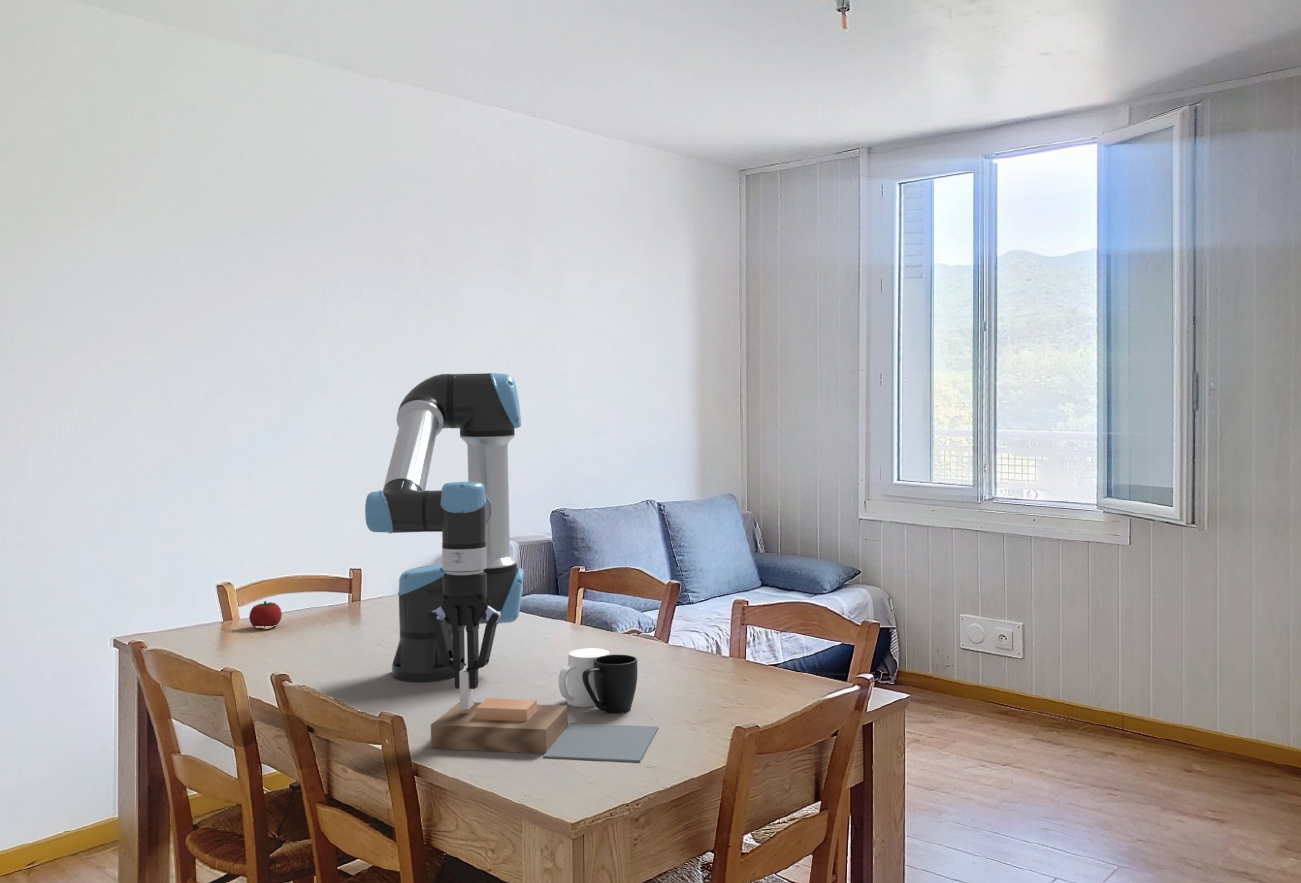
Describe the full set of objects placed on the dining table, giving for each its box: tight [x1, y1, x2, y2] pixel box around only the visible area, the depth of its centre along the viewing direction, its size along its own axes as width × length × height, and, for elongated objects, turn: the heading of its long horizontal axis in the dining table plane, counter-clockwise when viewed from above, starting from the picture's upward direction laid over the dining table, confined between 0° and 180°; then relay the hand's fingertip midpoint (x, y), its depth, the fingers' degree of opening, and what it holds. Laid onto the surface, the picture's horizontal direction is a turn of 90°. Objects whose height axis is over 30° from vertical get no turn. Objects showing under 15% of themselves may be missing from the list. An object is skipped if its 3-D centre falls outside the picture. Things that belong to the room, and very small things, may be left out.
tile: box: [476, 697, 538, 721], centre depth 179 cm, size 9×6×2 cm, turn 80°
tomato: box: [248, 601, 283, 627], centre depth 275 cm, size 8×8×7 cm
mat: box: [542, 722, 660, 763], centre depth 176 cm, size 16×18×1 cm
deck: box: [430, 701, 569, 755], centre depth 179 cm, size 20×14×4 cm
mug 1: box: [558, 647, 610, 708], centre depth 201 cm, size 12×9×8 cm
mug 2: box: [582, 654, 638, 715], centre depth 194 cm, size 8×12×10 cm
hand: (466, 706), depth 180 cm, fingers closed
